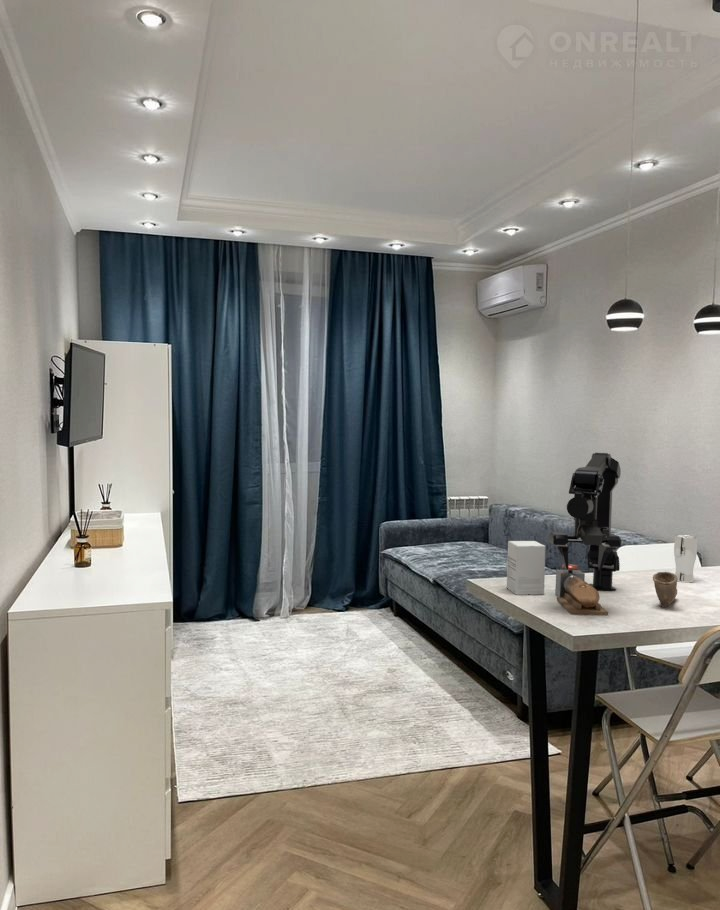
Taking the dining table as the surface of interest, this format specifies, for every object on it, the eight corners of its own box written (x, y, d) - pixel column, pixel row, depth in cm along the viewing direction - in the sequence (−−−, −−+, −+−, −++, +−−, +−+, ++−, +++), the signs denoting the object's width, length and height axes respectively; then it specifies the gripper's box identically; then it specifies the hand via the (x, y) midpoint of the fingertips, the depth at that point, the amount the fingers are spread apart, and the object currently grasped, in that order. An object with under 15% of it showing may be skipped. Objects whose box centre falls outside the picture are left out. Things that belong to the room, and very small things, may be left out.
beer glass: (670, 577, 237) (673, 534, 236) (693, 579, 235) (695, 535, 235) (674, 582, 231) (676, 537, 230) (697, 583, 229) (699, 538, 228)
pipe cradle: (557, 600, 202) (557, 592, 202) (591, 601, 202) (591, 593, 202) (571, 614, 188) (571, 604, 188) (608, 615, 188) (608, 605, 188)
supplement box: (533, 587, 218) (535, 540, 217) (544, 595, 209) (546, 545, 208) (505, 587, 216) (507, 540, 216) (515, 595, 208) (517, 545, 207)
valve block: (555, 594, 209) (556, 563, 209) (578, 595, 209) (579, 564, 209) (561, 600, 202) (563, 568, 202) (585, 601, 202) (587, 569, 202)
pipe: (684, 600, 207) (686, 567, 206) (674, 612, 193) (675, 576, 193) (661, 596, 210) (663, 564, 210) (649, 608, 197) (651, 573, 196)
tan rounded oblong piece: (565, 596, 201) (566, 576, 201) (585, 596, 201) (586, 577, 200) (578, 607, 189) (579, 586, 189) (599, 607, 189) (599, 587, 189)
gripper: (560, 517, 186) (557, 575, 186) (630, 519, 185) (627, 577, 186) (549, 512, 197) (546, 566, 197) (615, 514, 197) (612, 568, 197)
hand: (583, 570), depth 194 cm, fingers open, 9 cm apart
